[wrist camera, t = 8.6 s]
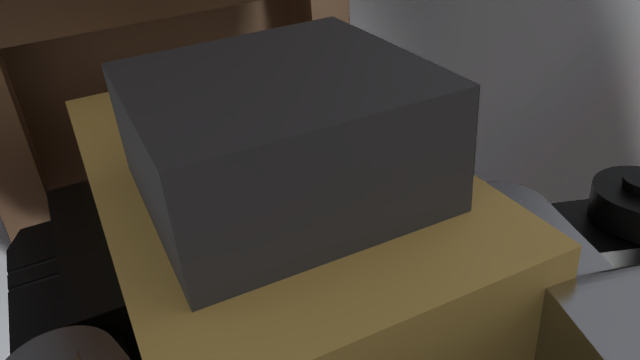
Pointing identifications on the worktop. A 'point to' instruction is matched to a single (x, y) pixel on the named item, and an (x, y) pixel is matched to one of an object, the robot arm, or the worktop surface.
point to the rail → (96, 74)
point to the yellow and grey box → (310, 204)
